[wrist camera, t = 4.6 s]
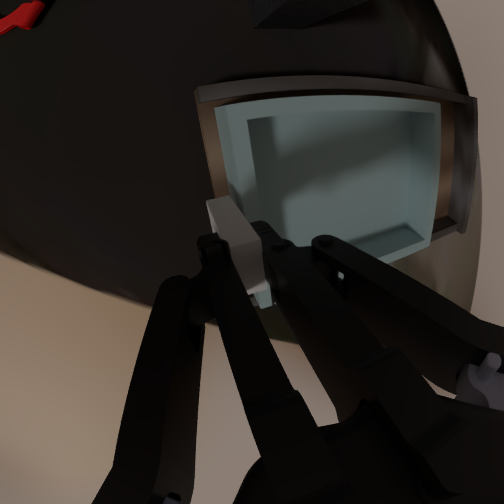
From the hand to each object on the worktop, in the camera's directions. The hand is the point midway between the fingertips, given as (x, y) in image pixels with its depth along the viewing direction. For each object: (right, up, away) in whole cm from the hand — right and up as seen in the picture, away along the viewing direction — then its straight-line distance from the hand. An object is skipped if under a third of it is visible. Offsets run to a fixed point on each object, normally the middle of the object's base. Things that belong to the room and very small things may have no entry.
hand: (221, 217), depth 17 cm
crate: (+9, +4, +4) cm, 10 cm away
